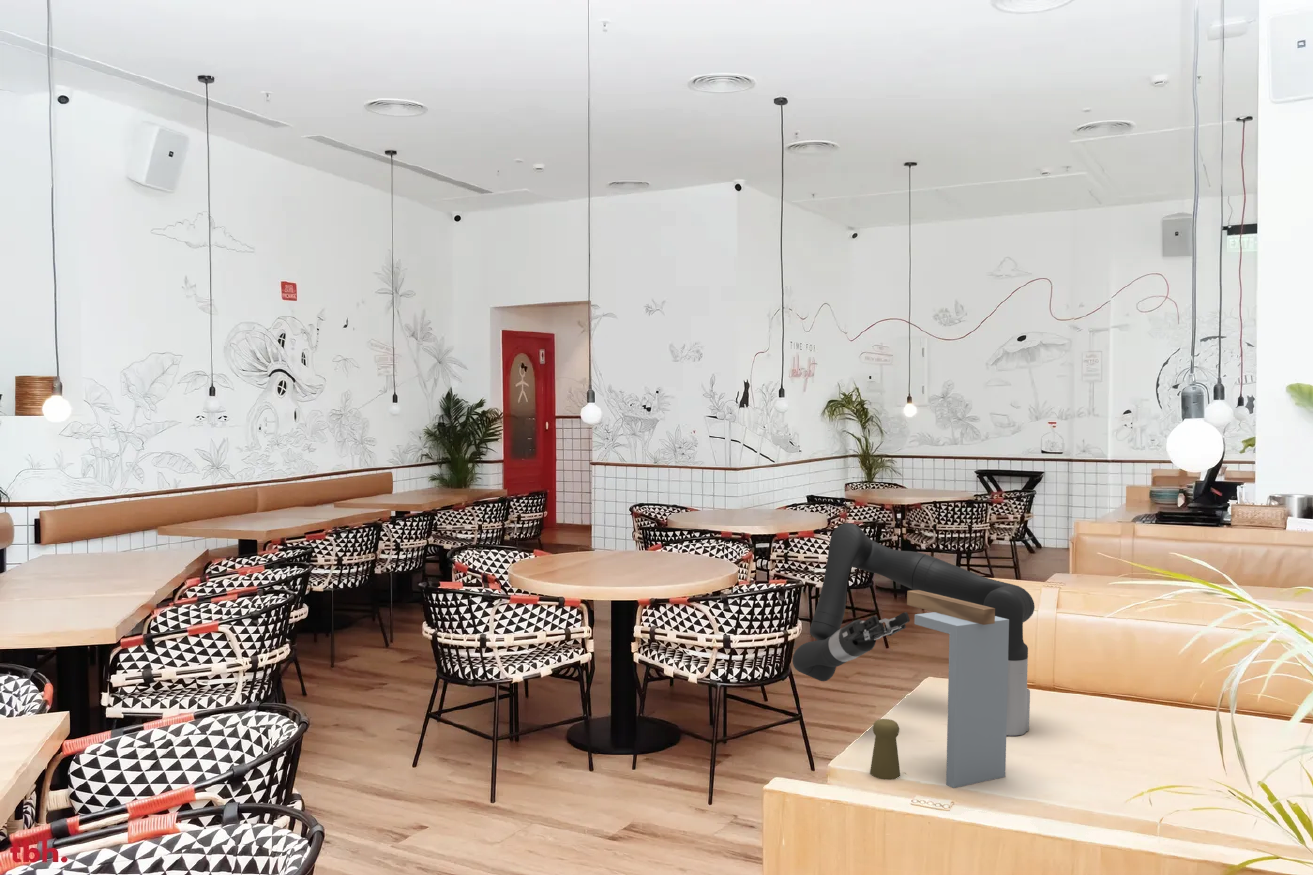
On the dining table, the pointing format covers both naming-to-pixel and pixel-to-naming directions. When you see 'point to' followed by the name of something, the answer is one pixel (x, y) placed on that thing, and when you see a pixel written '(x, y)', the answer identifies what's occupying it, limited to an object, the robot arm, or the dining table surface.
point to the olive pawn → (885, 750)
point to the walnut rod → (951, 607)
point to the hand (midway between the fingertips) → (892, 618)
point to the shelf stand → (974, 697)
